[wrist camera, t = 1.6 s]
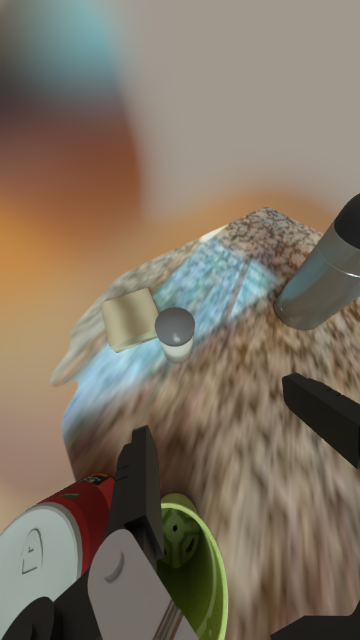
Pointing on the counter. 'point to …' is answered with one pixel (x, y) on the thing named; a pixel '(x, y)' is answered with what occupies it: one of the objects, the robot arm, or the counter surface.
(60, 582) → the canned food
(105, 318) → the maple base
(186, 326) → the spice jar
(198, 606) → the plant pot
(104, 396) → the counter surface
